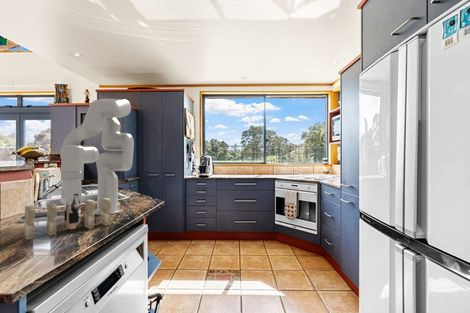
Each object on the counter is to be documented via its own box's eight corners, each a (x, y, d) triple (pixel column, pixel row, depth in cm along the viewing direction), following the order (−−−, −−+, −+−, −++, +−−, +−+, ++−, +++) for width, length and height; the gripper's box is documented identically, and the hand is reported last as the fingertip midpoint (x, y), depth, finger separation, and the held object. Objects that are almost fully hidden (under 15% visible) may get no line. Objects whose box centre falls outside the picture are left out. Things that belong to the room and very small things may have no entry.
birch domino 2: (52, 231, 96) (53, 203, 96) (56, 234, 93) (56, 204, 93) (46, 232, 94) (47, 203, 95) (49, 235, 91) (50, 205, 91)
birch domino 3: (89, 225, 106) (90, 199, 106) (94, 227, 102) (94, 200, 103) (84, 226, 104) (85, 200, 104) (88, 228, 101) (89, 201, 101)
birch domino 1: (31, 235, 91) (32, 205, 91) (34, 238, 88) (35, 207, 88) (24, 236, 90) (25, 206, 90) (26, 239, 86) (27, 208, 86)
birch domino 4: (105, 222, 111) (106, 197, 111) (110, 224, 107) (110, 199, 107) (101, 223, 109) (101, 198, 109) (105, 225, 106) (106, 199, 106)
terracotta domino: (72, 225, 101) (72, 198, 101) (76, 228, 97) (76, 200, 98) (66, 226, 99) (66, 199, 99) (70, 229, 96) (70, 200, 96)
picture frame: (20, 224, 109) (75, 219, 117) (20, 217, 109) (75, 214, 117) (32, 216, 123) (80, 213, 132) (32, 210, 123) (80, 207, 132)
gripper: (55, 175, 102) (54, 219, 101) (67, 177, 90) (66, 227, 90) (76, 174, 107) (75, 216, 107) (90, 176, 96) (89, 223, 96)
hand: (71, 221), depth 98 cm, fingers closed on terracotta domino, 4 cm apart
